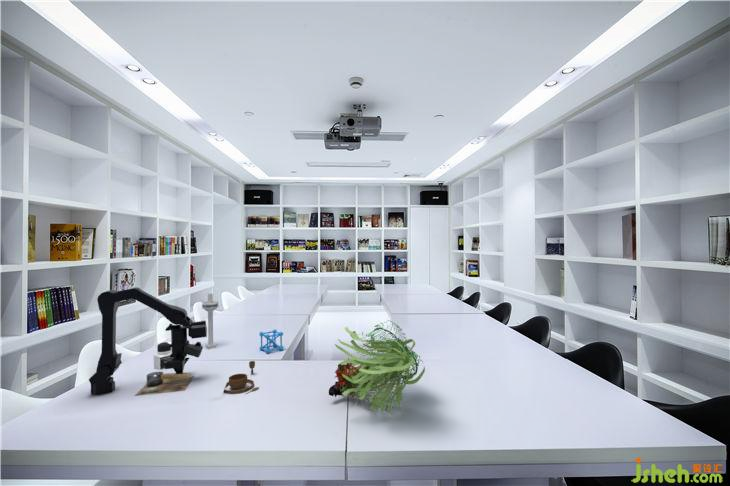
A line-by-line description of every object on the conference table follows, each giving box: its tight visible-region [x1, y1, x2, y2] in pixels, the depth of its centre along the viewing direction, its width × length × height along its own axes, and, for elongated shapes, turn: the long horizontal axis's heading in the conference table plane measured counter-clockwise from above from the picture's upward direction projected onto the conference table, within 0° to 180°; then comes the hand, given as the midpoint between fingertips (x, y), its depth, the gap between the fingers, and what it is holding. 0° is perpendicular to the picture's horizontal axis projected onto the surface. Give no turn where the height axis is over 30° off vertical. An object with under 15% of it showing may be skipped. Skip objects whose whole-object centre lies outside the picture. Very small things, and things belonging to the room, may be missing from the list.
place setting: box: [223, 360, 260, 395], centre depth 141 cm, size 18×20×6 cm
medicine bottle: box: [153, 341, 174, 370], centre depth 161 cm, size 7×7×12 cm
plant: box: [328, 319, 426, 418], centre depth 119 cm, size 35×35×40 cm
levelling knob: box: [146, 371, 190, 386], centre depth 139 cm, size 16×6×4 cm, turn 94°
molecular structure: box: [258, 329, 284, 354], centre depth 187 cm, size 10×10×10 cm
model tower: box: [201, 293, 219, 350], centre depth 194 cm, size 8×8×30 cm
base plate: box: [134, 375, 195, 397], centre depth 137 cm, size 17×15×3 cm
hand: (180, 377), depth 142 cm, fingers closed
